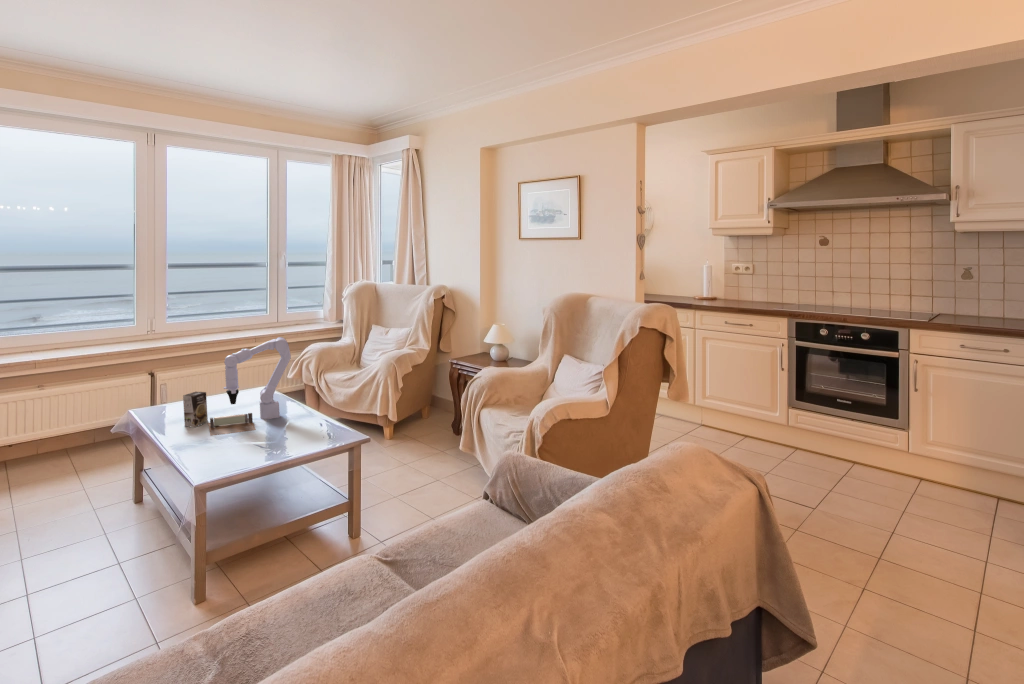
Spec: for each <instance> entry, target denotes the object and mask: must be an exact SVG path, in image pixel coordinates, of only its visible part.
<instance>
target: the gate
mask: <svg viewBox="0 0 1024 684" xmlns="http://www.w3.org/2000/svg"><path fill="white" fill-rule="evenodd" d="M213 420H214V426H218V425H227V424H236V423H244V422H245V423H247V422H248V413H244V414H243V413H242V414H234V415H233V414H231V415H230V414H229V415H221V416H215V417H213Z"/></svg>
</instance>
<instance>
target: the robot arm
mask: <svg viewBox="0 0 1024 684" xmlns="http://www.w3.org/2000/svg"><path fill="white" fill-rule="evenodd" d="M267 350H271V351H275V350H276V351H277V352H278V354H279V356H280V358H279V360H278V362H277V364H276V366H275V368H274V370H273V372H272V374H271V376H270V378H269V380H268V382H267V383H266V385H265V387H264V388H263V389H262V390H260V393H259V394H260V399H259V400H260V401H259V414H260V415H259V417H260V419H262V420H271V419H277V418H281V416H280V415H281V414H280V404H279V401H276V400H274V394H275V391H276V389H277V387H278V384H279V383H280V380H281V378H282V377H283V375H284V372H285V371H286V369H287V367H288V364H289V362H290V361H291V359H292V358H291V357H292V354H291V351H290V346H289V342H288V341H287V340H286V338H284V337H283V336H278V337H276V338H272V339H270V340H268V341H265V342H263V343H261V344H258V345H257V346H255V347H252V348H241V350H239V351H237V352H233V353H232V354H229V355H226V357H225V358H224V361H223V362H224V365H225V367H224V369H225V370H224V373H225V374H224V375H225V377H224V378H225V386H223V390H226V391H225V393H226V394H227V396H228V399H229V403H230V405H236V403H237V397H238V394H239V388H240V386H239V374H238V373H239V372H238V370H239V369H238V368H237V367H238V364H242V363H245V362H246V361H249V360H251V359H252V358H253V356H255V355H257V354H259V353H261V352H264V351H267Z"/></svg>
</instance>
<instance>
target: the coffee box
mask: <svg viewBox="0 0 1024 684" xmlns="http://www.w3.org/2000/svg"><path fill="white" fill-rule="evenodd" d="M182 397H183V398H182V400H183V418H184V420H183V421H184V426H185V427H189V426H191V428H196V426H197V427H199V426H202V425H204V424H206V423H208V420H209V419H208V418H209V417H208V405H207V404H208V403H207V402H208V401H207V392H206V391H193V392H190V393H187V394H183V396H182ZM203 423H204V424H203ZM201 424H202V425H201ZM198 425H199V426H198Z"/></svg>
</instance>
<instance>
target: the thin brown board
mask: <svg viewBox="0 0 1024 684" xmlns="http://www.w3.org/2000/svg"><path fill="white" fill-rule="evenodd" d="M247 414H248V422H247V423H245V422H244V423H236V424H227V425H218V426H214V417H209V422H207V425H208V429H209V430H208V431H209V435H210V437H214V436H220V435H228V434H236V433H242V432H251V431H256V430H257V428H256V426H255V424H254V422H253V420H254V419H253V413H252V412H248V413H247Z"/></svg>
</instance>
